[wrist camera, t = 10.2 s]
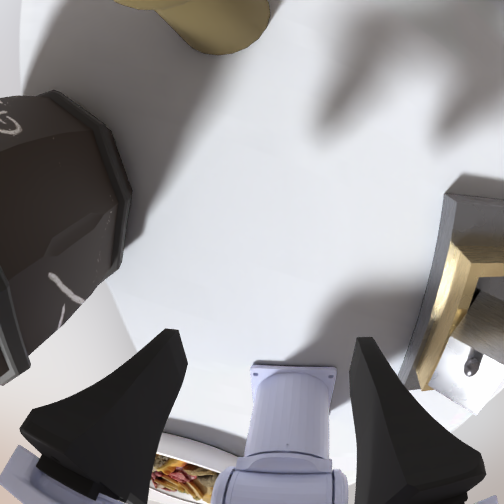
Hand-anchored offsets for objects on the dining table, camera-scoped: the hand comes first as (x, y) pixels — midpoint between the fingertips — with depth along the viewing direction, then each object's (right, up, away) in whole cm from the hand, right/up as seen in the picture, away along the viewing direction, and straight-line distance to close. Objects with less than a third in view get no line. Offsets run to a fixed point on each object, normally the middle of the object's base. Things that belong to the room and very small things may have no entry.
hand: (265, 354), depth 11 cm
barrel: (-17, +9, +10) cm, 22 cm away
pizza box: (-12, -34, +31) cm, 47 cm away
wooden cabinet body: (+20, 0, +8) cm, 21 cm away
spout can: (+18, -2, +5) cm, 19 cm away
